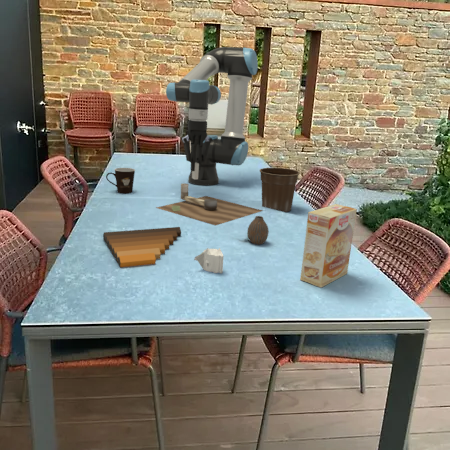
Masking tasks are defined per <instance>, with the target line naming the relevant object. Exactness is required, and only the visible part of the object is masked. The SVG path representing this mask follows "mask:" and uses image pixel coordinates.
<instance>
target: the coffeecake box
mask: <svg viewBox="0 0 450 450" xmlns="http://www.w3.org/2000/svg"><path fill="white" fill-rule="evenodd" d="M357 211H358V210H357V208H354V207H351V206H346V205H341V204H338V203H334V204H332V205H328V206H326V207H322V208H318V209H315V210H311V211H308V212H307V222H306V230H305V236H304V238H305V239H304V245H303V246H304V247H303V252H302V253H303V255H302V263H301V272H300V278H299V279H300V281H302V282H306V283H308V284H310V285H313V286H316V287H317V288H320V289H321V288H324V287H325V286H327V285H329V284H331V283H332V282H334V281H336V280H338V279H341V278H342V277H343V276H346V275H347V274H348V271H349V263H350V258H351V257H350V255H351V252H352V251H351V249H352V243H353V236H354V230H355V224H356V217H357Z"/></svg>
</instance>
